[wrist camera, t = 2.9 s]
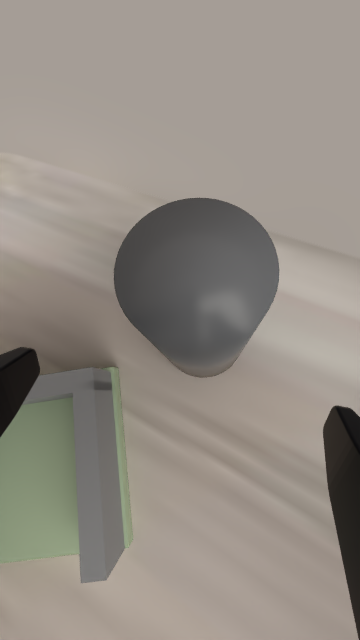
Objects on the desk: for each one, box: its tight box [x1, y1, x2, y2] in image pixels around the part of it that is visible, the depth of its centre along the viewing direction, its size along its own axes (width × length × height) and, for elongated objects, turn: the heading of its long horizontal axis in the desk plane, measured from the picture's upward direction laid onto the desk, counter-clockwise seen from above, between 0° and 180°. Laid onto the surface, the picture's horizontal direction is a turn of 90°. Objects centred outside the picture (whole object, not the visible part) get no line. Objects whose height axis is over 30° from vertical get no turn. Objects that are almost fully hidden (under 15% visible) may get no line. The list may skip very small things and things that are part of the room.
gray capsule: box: [114, 198, 279, 377], centre depth 15 cm, size 5×5×11 cm
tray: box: [0, 367, 133, 583], centre depth 17 cm, size 10×10×4 cm
